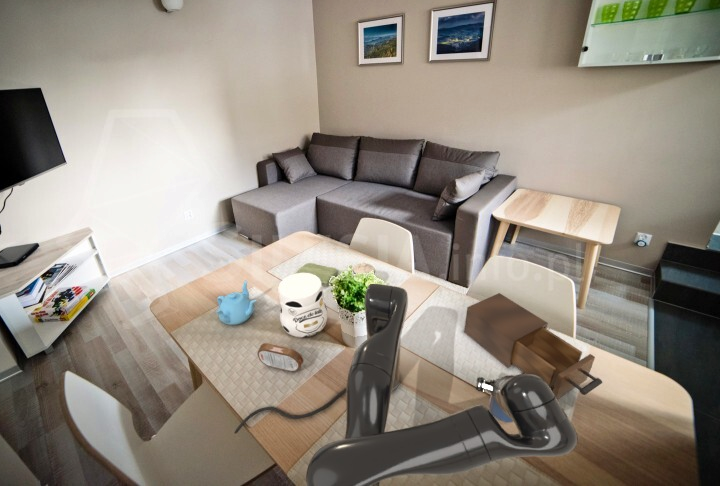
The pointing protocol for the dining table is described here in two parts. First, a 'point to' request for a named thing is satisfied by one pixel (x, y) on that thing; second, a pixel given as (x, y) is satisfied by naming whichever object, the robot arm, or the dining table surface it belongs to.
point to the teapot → (235, 307)
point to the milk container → (302, 305)
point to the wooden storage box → (500, 326)
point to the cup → (497, 410)
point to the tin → (280, 357)
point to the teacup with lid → (363, 268)
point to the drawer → (554, 362)
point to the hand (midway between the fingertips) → (505, 389)
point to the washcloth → (319, 272)
